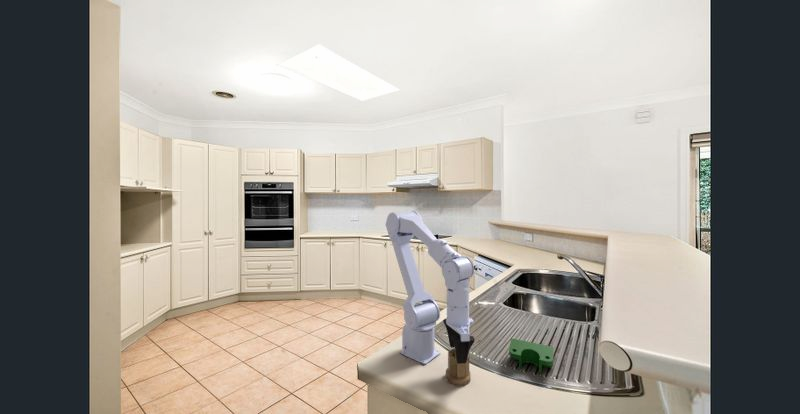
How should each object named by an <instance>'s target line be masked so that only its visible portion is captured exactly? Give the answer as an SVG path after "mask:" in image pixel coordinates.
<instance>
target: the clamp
mask: <svg viewBox="0 0 800 414" xmlns="http://www.w3.org/2000/svg"><path fill="white" fill-rule="evenodd" d="M554 351H555V348H554V346H551V345H545V344H541V343H535V342H531V341H526V340H521V339H516V338H512V337H511V338H510V343H509V348H508V355H509V357H511V359H513V360H516V361H518V365H519V366H518V367H519V369H522V366H523V364H526V363H528V364H529V363H530V364H532V365H535V366H537V368H538V374H542V370H543V369H542V367H546V368H552V367H553V366H554Z"/></svg>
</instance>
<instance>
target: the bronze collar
mask: <svg viewBox="0 0 800 414" xmlns="http://www.w3.org/2000/svg"><path fill="white" fill-rule="evenodd" d="M455 356H456V353H455V348H452V349H450V350H449V351H448V352H447V368H448V372H449V375H450V376H452V377H454V378H456V379H465V378H466V377H467V376H468V375H469V371H470V354H468V358H467V361H466V363H462V364H458V362H457V359H456V357H455Z"/></svg>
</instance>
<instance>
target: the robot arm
mask: <svg viewBox="0 0 800 414" xmlns="http://www.w3.org/2000/svg"><path fill="white" fill-rule="evenodd" d="M385 227H386V231H387V234H388V237H389V240H390V242H391V244H392V247H393V251H394V254H395V258H396V261H397V264H398V268H399V270H400V274H401V277H402V278H401V279H402V281H403V284H404V287H405V290H406V291H405V292H406V294H407V297H406V299H405V300H404V302H403V304H402V308H403V313H404V315H403V317H404V319H403V320H404V321H405V324H404V326H403V328H402V332H401V333H402V334H401V335H402V336H401V338H402V339H401V340H402V342H401V343H402V350H401V351H400V354H401V355H403V356H405V357H408V358H409V359H412V360H414V361H417V362H418V363H421V364H423V365H427V364H428V363H430V362H431V361H432V360H434V359H435V358H436V357H437V356H439V355H441V351H439V350H437V349H435V326H436V325H437V321H439V319H440V318H441V317H440V316H441V311H440V308H439V305H438V304H437V302H436V300H435V299H434V296H433V295H432V294H430V293H429V292H427V291H426V290H425V288H424V285H423V282H422V279H421V275H420V272H419V269H418V266H417V263H416V259H415V257H414V256H415V255H414V254H413V250H412V247H411V245H410V244H411V243H410V242H411V240H412V239H413V238H414V237H416V238H417V239H418V240H419V241H420V242H421V243H422V244H424V245H425V246H426V247H427V253H428V255H429V256H430V257H431V258H432V260H434V262H435V263H437V265H438V266H439V267H440V269H441V274H442V276H443V277H442V278H443V279H444V285H445V287H446V318H444V319H443V324H444V326H445V328H446V332H447V337H448V342H449V345H450V348H454V349H455V353H456V359H457V362H458V364H462V363H466V361H467V358H468V354H469V353H470V350H471V348H472V346H473V345H474V343H475V337H474V336H473V335H470V334H471V333H470V326H471V325H473V324H474V319H473V318H472V317H470V278H472V277H473V275H474V273H475V267H474V263H473V262H472V260H471V259H470V258H469V257H468V256H465V255H462V254H459V253H458V252H457V251H456V250H454V249H453V248H452V246H450V245H449V244H448V241H447V240H445V239H443V238H438V239H437V237H436V236H435V235H434V234H433V232H432V231H431V230H430V228H428V226H426V224H425V222H423V216H422V215H420V214H419V213H418V212H417V211H415V210H411V211H402V212H401V211H400V212H399V211H398V212H390V213H389V214H388V215H387V218H386V222H385ZM469 355H470V354H469Z"/></svg>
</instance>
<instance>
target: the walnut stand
mask: <svg viewBox="0 0 800 414" xmlns="http://www.w3.org/2000/svg"><path fill="white" fill-rule="evenodd" d="M445 380H446V381H447V383H449V384H451V385H453V386H456V387H457V386H458V387H462V386H468V385H469V384H470V383H471V371H470V370H469V375H468V376H467V377H466V378H465V379H456V378H454V377H452V376H450V375H449V372H448V367H447V368H446V370H445Z"/></svg>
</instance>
